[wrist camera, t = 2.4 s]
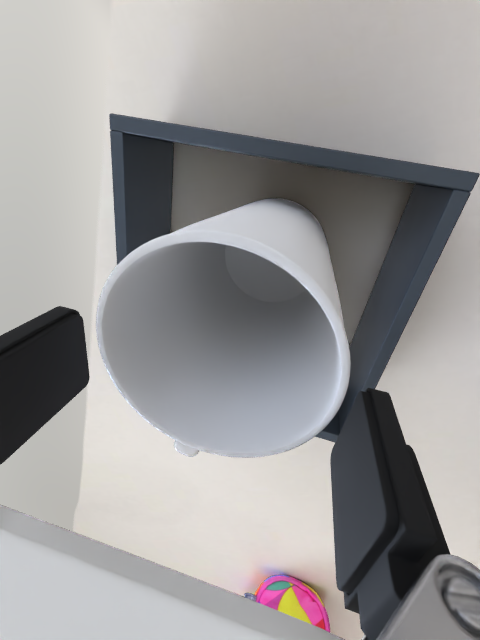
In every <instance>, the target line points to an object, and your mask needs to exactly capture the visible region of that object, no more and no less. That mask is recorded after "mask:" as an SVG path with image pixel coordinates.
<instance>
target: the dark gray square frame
mask: <svg viewBox="0 0 480 640" xmlns="http://www.w3.org/2000/svg"><path fill="white" fill-rule="evenodd" d="M110 129H111V130H112V131H110V136H111V155H112V174H113V194H114V213H115V232H116V251H117V265H118V264H119V263H120V262H121V261H122V260H123V259H124V258H125V257H126V256H127V255H128V254H130V253H131V252H132V251H134V250H135V249H137V248H138V247H140V246H141V245H143V244H145V243H147V242H149V241H151V240H153V239H155V238H158V237H161V236H164V235H167V234H170V227H171V200H172V173H173V145H174V143H173V142H175V143H181V144H186V145H192V146H198V147H204V148H210V149H216V150H221V151H227V152H233V153H239V154H245V155H250V156H256V157H262V158H268V159H274V160H280V161H285V162H291V163H297V164H303V165H309V166H314V167H320V168H326V169H332V170H338V171H344V172H349V173H355V174H361V175H367V176H373V177H379V178H384V179H390V180H396V181H402V182H408V183H413V184H415V185H414V187H413V190H412V192H411V195H410V197H409V200H408V202H407V205H406V207H405V210H404V212H403V215H402V217H401V220H400V222H399V225H398V227H397V230H396V232H395V235H394V237H393V240H392V242H391V245H390V247H389V250H388V252H387V255H386V257H385V260H384V262H383V265H382V267H381V270H380V272H379V275H378V277H377V280H376V282H375V285H374V287H373V290H372V292H371V295H370V297H369V300H368V302H367V305H366V307H365V310H364V312H363V315H362V317H361V320H360V322H359V325H358V327H357V330H356V332H355V335H354V337H353V340H352V342H351V345H350V347H349V349H350V361H351V366H350V378H349V384H348V388H347V392H346V395H345V398H344V400H343V402H342V404H341V406H340V408H339V410H338V412H337V413H336V415H335V416H334V418H333V419H332V420H331V421H330V423H329V424H328V425H327V426H326V427H325V428H324V429H323V430H322V431H321V432H320V433H318V434H317V435H316V436H315V437H319V438H322V439H326V440H329V441H332V442H336V440H337V438H338V436H339V434H340V432H341V429H342V427H343V425H344V423H345V420H346V418H347V416H348V414H349V412H350V409H351V407H352V405H353V403H354V401H355V398H356V396H357V394H358V392H359V391H364V392H365V390H366V389H367V388H372V389H375V388H376V386H377V383H378V381H379V379H380V377H381V375H382V373H383V371H384V369H385V367H386V365H387V363H388V361H389V359H390V357H391V355H392V353H393V351H394V349H395V347H396V345H397V343H398V341H399V339H400V336H401V334H402V332H403V330H404V328H405V326H406V324H407V322H408V320H409V318H410V316H411V314H412V312H413V310H414V308H415V306H416V304H417V302H418V300H419V298H420V296H421V294H422V292H423V290H424V287H425V285H426V283H427V281H428V279H429V277H430V275H431V273H432V271H433V269H434V267H435V265H436V263H437V261H438V259H439V257H440V255H441V253H442V251H443V249H444V247H445V245H446V243H447V240H448V238H449V236H450V234H451V232H452V230H453V228H454V226H455V224H456V222H457V220H458V218H459V216H460V214H461V212H462V210H463V208H464V206H465V204H466V202H467V200H468V198H469V196H470V192H471V191H472V189H473V187H474V185H475V183H476V181H477V179H478V177H479V173H474V172H468V171H462V170H456V169H450V168H444V167H437V166H431V165H425V164H419V163H413V162H407V161H400V160H394V159H388V158H382V157H376V156H370V155H364V154H357V153H351V152H345V151H339V150H333V149H327V148H320V147H314V146H308V145H302V144H296V143H290V142H284V141H277V140H271V139H265V138H259V137H253V136H247V135H240V134H234V133H228V132H222V131H216V130H210V129H204V128H197V127H191V126H185V125H179V124H173V123H167V122H160V121H154V120H148V119H142V118H136V117H130V116H124V115H117V114H110Z"/></svg>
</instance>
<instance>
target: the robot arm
mask: <svg viewBox="0 0 480 640" xmlns="http://www.w3.org/2000/svg"><path fill="white" fill-rule="evenodd" d="M88 381H89V369H88V360H87V351H86V342H85V333H84V325H83V319H82V317H81V316H80V314H79V312H78V311H76V310H73V309H69V308H65V307H61V306H59V307H56V308H54V309H52V310H50V311H48V312H46V313H44V314H42V315H40V316H38V317H36V318H34V319H32V320H30V321H28V322H26V323H24V324H23V325H21V326H19V327H17V328H15V329H13V330H11V331H9V332H7V333H5V334H3V335H1V336H0V464H2V463H3V462H4V461H5V460H6V459H7V458H9V457H10V456H11V455H12V454H13V453H14V452H15V451H16V450H17V449H18V448H19V447H20V446H21V445H23V444H24V443H25V442H26V441H27V440H28V439H29V438H30V437H31V436H32V435H34V434H35V433H36V432H37V431H38V430H39V429H40V428H41V427H42V426H43V425H44V424H45V423H46V422H48V421H49V420H50V419H51V418H52V417H53V416H54V415H55V414H56V413H57V412H59V411H60V410H61V409H62V408H63V407H64V406H65V405H66V404H67V403H68V402H69V401H70V400H72V399H73V398H74V397H75V396H76V395H77V394H78V393H79V392H80V391H81V390H82V389H83V388H85V387H86V385H87V384H88ZM331 481H332V501H333V522H334V542H335V563H336V581H337V587H338V589H339V590H340V591H343V592H344V602H345V609H348V610H351V611H353V612H356V613H359V614H360V625H361V629H362V631H363V632H364V634H365V635H364V636H363V637H362V639H361V640H480V570H479V569H478V568H477V567H475V566H474V565H473V564H472V563H470V562H468V561H466V560H464V559H462V558H460V557H458V556H454V555H450V552H449V549H448V546H447V543H446V541H445V538H444V535H443V532H442V529H441V526H440V524H439V521H438V518H437V515H436V512H435V509H434V507H433V504H432V501H431V498H430V495H429V492H428V489H427V487H426V484H425V481H424V478H423V475H422V472H421V470H420V467H419V464H418V461H417V458H416V455H415V453H414V451H413V449H412V448H411V447H410V446H409V445H406V443H405V440H404V437H403V434H402V431H401V428H400V425H399V422H398V419H397V416H396V413H395V409H394V406H393V403H392V400H391V397H390V395H389V393H387V392H383V391H379V390H375V389H372V388H367V389H366V390H365V392H364V391H359V392H358V394H357V396H356V398H355V401H354V403H353V405H352V407H351V409H350V412H349V414H348V416H347V418H346V420H345V423H344V425H343V427H342V429H341V432H340V434H339V436H338V438H337V440H336V443H335V445H334V447H333V450H332V453H331ZM0 640H345V639H343V638H341V637H338V636H336V635H334V634H332V633H330V632H328V631H326V630H324V629H321V628H319V627H317V626H314V625H312V624H309V623H307V622H305V621H302V620H300V619H297V618H295V617H292V616H290V615H287V614H285V613H282V612H280V611H277V610H275V609H272V608H270V607H268V606H265V605H263V604H260V603H258V602H255V601H253V600H250V599H248V598H245V597H243V596H240V595H238V594H235V593H232V592H230V591H227V590H225V589H222V588H219V587H217V586H214V585H212V584H209V583H206V582H204V581H201V580H199V579H196V578H193V577H191V576H188V575H185V574H183V573H180V572H178V571H175V570H172V569H170V568H167V567H165V566H162V565H159V564H157V563H154V562H152V561H149V560H146V559H144V558H141V557H138V556H136V555H133V554H131V553H128V552H125V551H123V550H120V549H117V548H115V547H112V546H109V545H107V544H104V543H101V542H99V541H96V540H93V539H91V538H88V537H86V536H83V535H80V534H78V533H75V532H72V531H70V530H67V529H64V528H62V527H59V526H56V525H53V524H51V523H48V522H46V521H43V520H40V519H38V518H35V517H32V516H30V515H27V514H24V513H22V512H19V511H16V510H14V509H11V508H8V507H6V506H3V505H0Z"/></svg>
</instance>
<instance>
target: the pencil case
mask: <svg viewBox="0 0 480 640" xmlns="http://www.w3.org/2000/svg"><path fill="white" fill-rule="evenodd" d="M245 598H248V599H250V600H253V601H255V602H258V603H260V604H263V605H265V606H268V607H270V608H272V609H275V610H277V611H280V612H282V613H285V614H287V615H290V616H292V617H295V618H297V619H300V620H302V621H305V622H307V623H309V624H312V625H314V626H317V627H319V628H321V629H324V630H326V631H328V632H330V624H329V618H328V614H327V612H326V609H325V606H324V604H323V602H322V600H321V598H320V597H319V595H318V594H317V593H316V592H315V591H314V590H313V589H312V588H311V587H309V586H308V585H306V584H305V583H303V582H301V581H299V580H297V579H295V578H293V577H290V576H286V575H274V576H271V577H269V578H267V579H266V580H265V581H264V582H263V583H262V584H261V585H260V586H259V588H258V589H257V591H256V592H255V594H254V595H253V594H250V593H245Z"/></svg>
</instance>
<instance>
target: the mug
mask: <svg viewBox="0 0 480 640" xmlns="http://www.w3.org/2000/svg"><path fill="white" fill-rule="evenodd" d="M96 331H97V339H98V345H99V349H100V353H101V356H102V359H103V362H104V364H105V367H106V369H107V371H108V373H109V375H110V377H111V379H112V381H113V383H114V384H115V386H116V387H117V389H118V390H119V392H120V393H121V394H122V396H123V397H124V398H125V400H126V401H127V402H128V403H129V404H130V405H131V406H132V408H133V409H134V410H135V411H136V412H137V413H138V414H139V415H141V416H142V417H143V418H144V419H145V420H146V421H147V422H149V423H150V424H151V425H153V426H154V427H155V428H157V429H158V430H159V431H161V432H162V433H164V434H166V435H167V436H169V437H171V438H172V439H174V440H175V442H174V447H175V449H176V450H177V451H178V452H179V453H181V454H183V455H186V456H189V457H194V456H196V455H197V454H198V452H199V450H201V451H204V452H208V453H212V454H216V455H222V456H229V457H242V458H249V457H262V456H269V455H274V454H278V453H282V452H285V451H288V450H291V449H293V448H295V447H298V446H300V445H302V444H303V443H305V442H307V441H309V440H310V439H312V438H313V437H314V436H316V435H317V434H318V433H320V432H321V431H322V430H323V429H324V428H325V427H326V426H327V425H328V424H329V423H330V421H331V420H332V419H333V418H334V416H335V415H336V413H337V412H338V410H339V408H340V406H341V404H342V402H343V400H344V398H345V395H346V392H347V388H348V384H349V378H350V366H351V361H350V349H349V343H348V339H347V335H346V332H345V329H344V322H343V315H342V309H341V304H340V299H339V294H338V290H337V285H336V281H335V277H334V272H333V268H332V263H331V259H330V254H329V249H328V244H327V241H326V237H325V234H324V231H323V229H322V227H321V225H320V223H319V222H318V220H317V219H316V217H315V216H314V215H313V214H312V213H311V212H310V211H309V210H308V209H306V208H305V207H303V206H302V205H300V204H298V203H296V202H293V201H290V200H287V199H281V198H269V199H263V200H259V201H255V202H252V203H249V204H246V205H244V206H241V207H239V208H236V209H233V210H230V211H228V212H225V213H222V214H219V215H216V216H214V217H211V218H208V219H205V220H202V221H200V222H197V223H194V224H191V225H189V226H186V227H184V228H181V229H179V230H177V231H175V232H172V233H170V234H167V235H164V236H161V237H158V238H155V239H153V240H151V241H149V242H147V243H145V244H143V245H141V246H140V247H138V248H137V249H135V250H134V251H132V252H131V253H130V254H128V255H127V256H126V257H125V258H124V259H123V260H122V261H121V262H120V263H119V264H118V265H117V266H116V268H115V269H114V270H113V271H112V273H111V274H110V276H109V278H108V279H107V281H106V283H105V285H104V287H103V290H102V293H101V295H100V299H99V303H98V308H97V316H96Z"/></svg>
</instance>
